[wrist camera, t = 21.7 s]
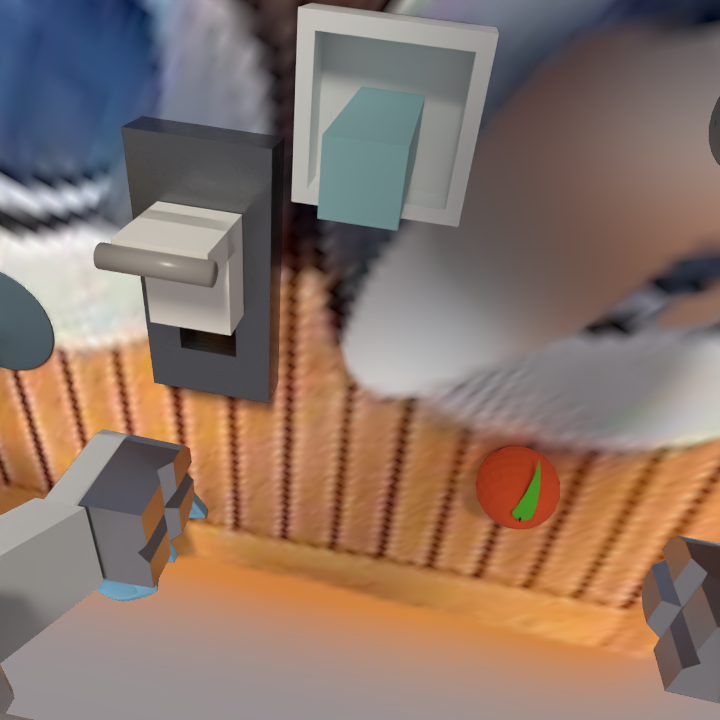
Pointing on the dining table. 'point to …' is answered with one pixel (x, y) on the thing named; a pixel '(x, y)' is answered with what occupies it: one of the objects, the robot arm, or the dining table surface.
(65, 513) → the robot arm
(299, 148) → the tray
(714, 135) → the thermos bottle
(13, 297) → the cocktail glass
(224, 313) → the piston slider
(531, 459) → the clementine
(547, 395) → the dining table surface
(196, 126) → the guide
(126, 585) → the chair
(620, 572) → the dining table surface
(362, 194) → the block
